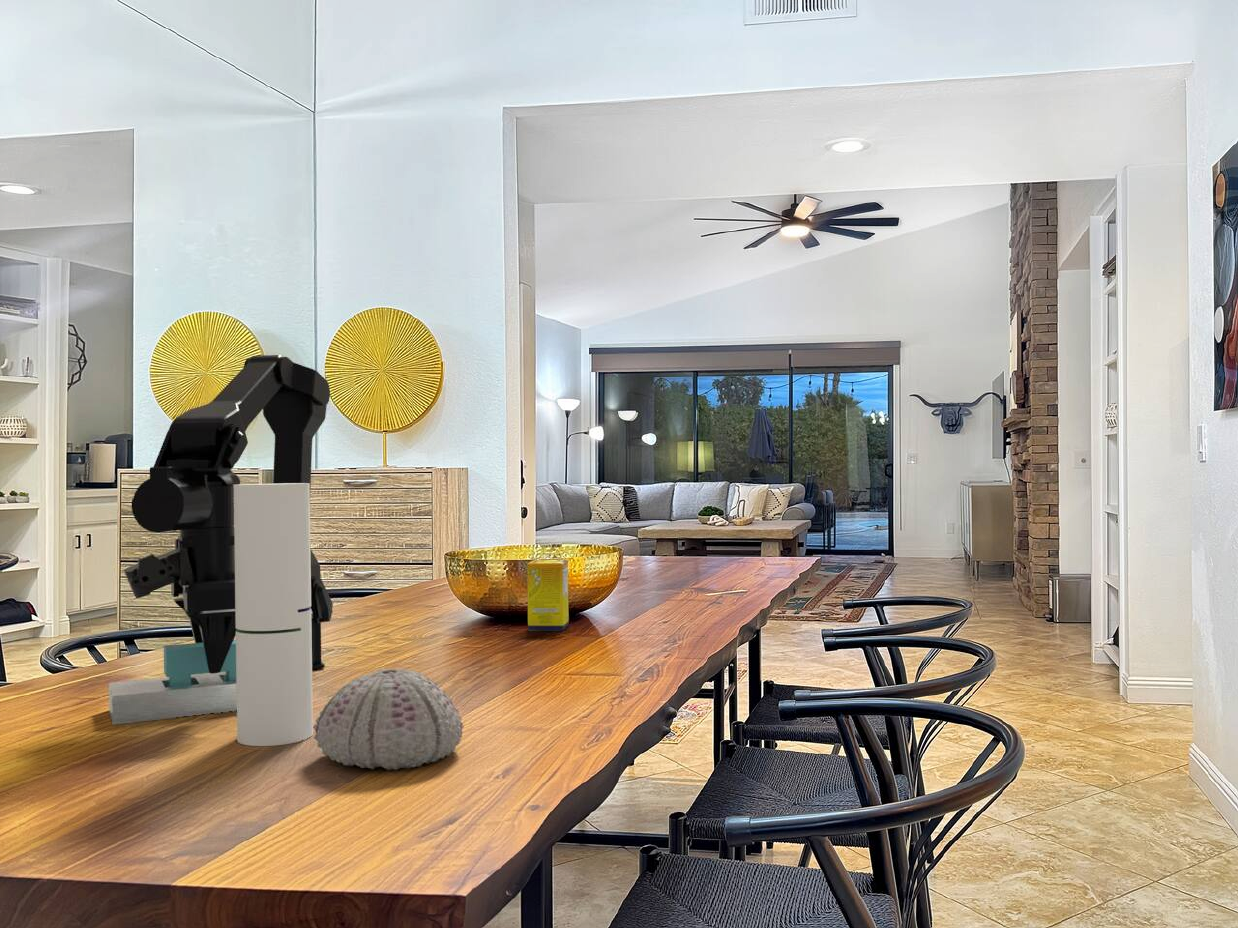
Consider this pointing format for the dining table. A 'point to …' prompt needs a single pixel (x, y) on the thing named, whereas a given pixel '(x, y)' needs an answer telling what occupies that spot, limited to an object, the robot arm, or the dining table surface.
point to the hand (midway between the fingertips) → (209, 666)
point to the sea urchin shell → (389, 721)
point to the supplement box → (547, 595)
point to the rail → (170, 698)
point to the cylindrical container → (273, 613)
